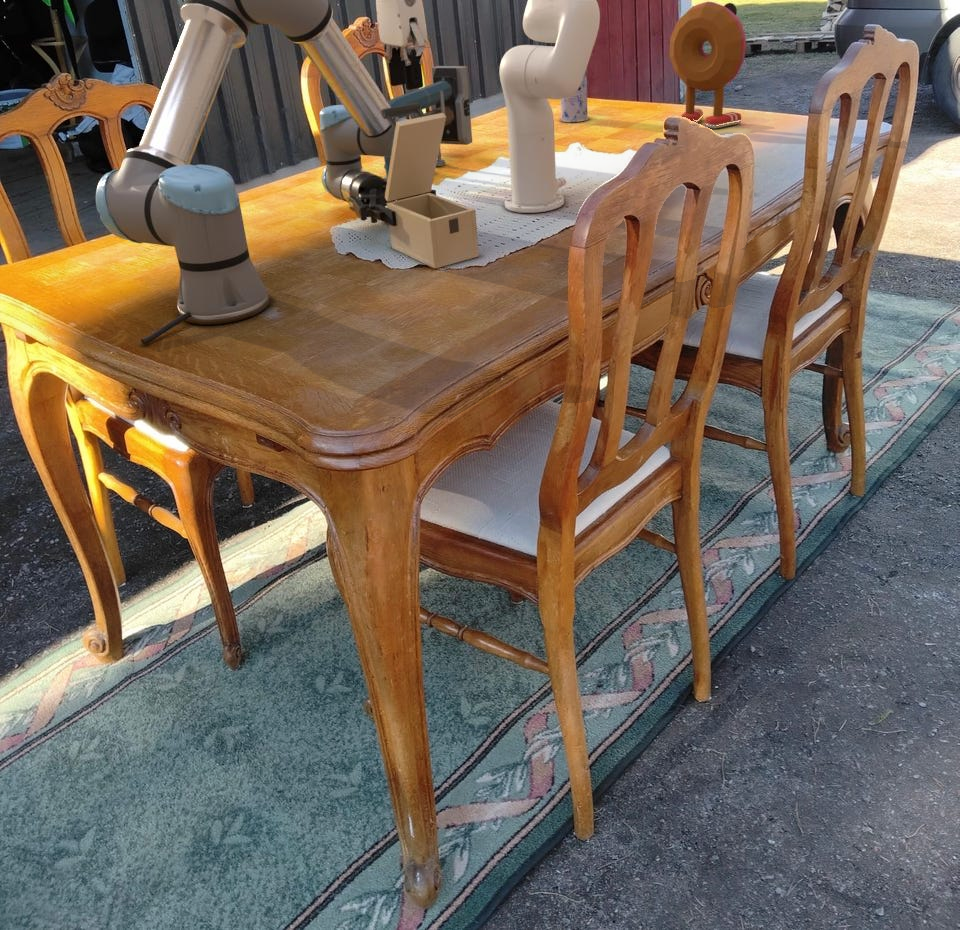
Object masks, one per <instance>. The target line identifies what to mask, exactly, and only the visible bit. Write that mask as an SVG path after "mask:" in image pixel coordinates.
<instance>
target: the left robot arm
mask: <svg viewBox="0 0 960 930" xmlns="http://www.w3.org/2000/svg"><path fill="white" fill-rule="evenodd" d="M177 1H178V4H179V6H180V12H179V13H180V17H181V19H182V21H183V23H184V27H183V30H182V32H181V35H180V37H179V40H178V43H177V45H176V48H175V50H174V53H173V55H172V59H171V61H170V64H169V66H168V70H167V72H166V74H165V77H164V80H163V82H162V85H161V86H160V87H161V88H160V90H159V93H158V95H157V98H156V101H155V103H154V105H153V109H152V110H151V114H150V116H149V119H148V122H147V125H146V127H145V129H144V132H143V135H142V137H141V140H140V142H139V145H138V146H135V147H133V148H129V149H128V150H127V151H126V152H125V154H124V157H123V160H122V162H121V165H120V168H119V169H113V170H111V171H109V172H106V173H105V174H104V175H102V177H101V178H100V180H99V181H98V184H97V187H96V191H95V206H96V211H97V212H98V213H99V216H100V217H99V218H100V220H101V223H102V224H103V226H104V227H105V228H106V229H107V231H109V232H110V233H111V234H112V235H114V236H115V237H117V238H120V239H121V240H125V241H129V242H132V243H134V244H135V243H136V244H151V245H158V246H159V245H160V246H167V247H174V250H175V254H176V258H177V262H178V266H179V283H178V294H177V310H178V314H179V316H178V317H175V318H174V319H172V320H171V321H170V322H167V323H166V324H165V325H163V326H162V327H160V328H159V329H157V330H156V331H154V332H152V333H151V334H149V335H147V336H146V337H143V338H141V339H140V343H141V344H142V345H143V346H145V345H146V344H149V343H150V342H153V341H154V340H156V339H157V338H159V337H160V336H162V335H164V334H165V333H166V332H168V331H170V330H171V329H173V328H174V327H176V326H178V325H179V324H181V323H183V322H186V323H189V324H193V325H202V326H203V325H204V326H205V325H206V326H210V325H222V324H230V323H233V322H239V321H241V320H245V319H248V318H251V317H253V316H256V315H258V314H260V312H263V311H264V310H265V309H266V308H267V307H268V306H269V305H270V296H269V291H268V289H267V287H266V284H265V283H264V282H263V280H262V278H261V276H260V274H259V271H258V270H257V269H256V267H255V265H254V264H253V262H252V260H251V257H250V251H249V246H248V241H247V240H248V239H247V236H246V229H245V224H244V219H243V214H242V208H241V203H240V195H239V193H238V191H237V188H236V184H235V181H234V178H233V177H232V175H231V174H230V173H229V172H228V171H226V170H225V169H223V168H221V167H219V166H214V165H209V164H201V163H200V164H196V165H195V164H191V162H192V160H193V157H194V155H195V152H196V150H197V146H198V144H199V141H200V138H201V136H202V133H203V131H204V128H205V125H206V122H207V120H208V117H209V114H210V111H211V109H212V106H213V103H214V101H215V98H216V96H217V93H218V90H219V87H220V85H221V83H222V82H221V81H222V80H223V76H224V73H225V71H226V69H227V66H228V63H229V61H230V58H231V55H232V53H233V50H235V49H239V48H242V47H243V46H244V45H245V43H246V41H247V38H248V36H249V33H250V31H251V28H252V26H256V25H258V26H259V25H269V26H273V27H275V28H277V29H279V30H280V31H281V32H282V33H283V34H284V35H285V37H286V38H287V39H288V41H290V42H291V43H293V44H298V45H299V47H300V48H301V49H302V51H303V52H304V53H305V55H306V56H307V57H308V59H309V61H310V62H311V63H312V64H313V66H314V67H315V69H316V70H317V71H318V73H319V74H320V76H321V77H322V78H323V80H324V81H325V82H326V83H327V85H328V87H329V88H330V90H331V91H332V92H333V93H334V95H335V96H336V97H337V99H338V101H339V102H340V103H341V104H336V105H329V106H324V107H323V108H322V109H321V110H320V111H319V123H320V134H321V140H322V146H323V152H324V157H325V167H324V169H323V170H322V173H321V183H322V186H323V188H324V190H325V191H326V192H327V193H328V194H329V195H331V196H332V197H333V198H335V199H337V200H341V201H343V202H346V203H348V205H349V210H350V211H353V212H354V213H355V215H356V216H357V217H358V218H359V219H360V221H362V222H363V221H364V222H365V221H367V220H368V218H370V222H371V224H376V223H378V221H381V222H383V223H386V224H387V225H389V224H390V225H392V226H397V222H396V214H395V211H393V210H391V209H389V208H387V203H390V202H394V201H398V200H402V199H406V198H411V197H415V196H419V195H423V194H427V193H431V194H434V195H437V189H432V188H431V191H430V192H426V193H422V194H417V195H413V196H409V197H405V198H401V199H396V200H392V201H387V200H386V199H385V192H386V186H387V182H386V181H385V180H384V179H383V178H384V177H382V176H379V175H377V174H375V173H373V172H369V171H366V170H363V165H362V156H367V157H368V156H369V157H370V156H371V157H383V158H384V157H391V154H392V147H393V141H394V134H395V130H394V128H393V127H392V126H391V124H390V123H389V121H388V120H387V119H384V118H383V117H382V114H381V111H382V109H386V108H391V107H390V105H389V103H388V100H387V99H386V97H385V95H384V94H383V93H382V92H381V90H380V87H379V86H378V85H377V83H376V82H375V80H374V79H373V78H372V76H371V74H370V73H369V71H368V69H367V68H366V67H365V65H364V64H363V63H362V61H361V59H360V58H359V57H358V55H357V53H356V52H355V50H354V49H353V47H352V45H351V44H350V42H349V41H348V40H347V38H346V37H345V35H344V34H343V32H342V30H341V28H340V27H339V26H338V24H337V23H336V21H335V20H334V18H333V16H334V9H333V7H332V5H331V3H330V2H329V0H177ZM392 118H393V120H394V121H395V122H399V121H404V120H409V119H410V118H409V119H406V117H402V118H400V119H399V118H398V117H392Z"/></svg>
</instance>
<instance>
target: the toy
mask: <svg viewBox="0 0 960 930" xmlns="http://www.w3.org/2000/svg"><path fill="white" fill-rule="evenodd" d="M737 12H738V10H737V6H736V5H735V4H734V3H732V2H728V3H726V4H724V5H723V4H719V3H717V2H714V1H705V2H702V3H701V2H700V3H698V4H695V5H693V6H692V7H691V8H689V9H688V10H687V11H686V12H685V13H684V14H683V15H682V16H681V17H679V19H678V20H677V21H676V23H675V26H674V29H673V30H672V32H671V36H670V38H669V59H670V62H671V65H672V68H673V70H674V74H675V75H676V76H677V77H678V78H679V79H680V80H681V81H682V82H683V83H684V85H685V111H684V112H683V113H682V114H681V115H680V116H682V117H686V118H688V119H690V120H691V121H694V120H698V119H699V118H700V117H701V116H702V115H703V117H702V118H701V119H700V120H699V121H697V122H696V121H694V122H696V123H697V124H698V123H699V122H700V121H701V120H702V119H703V118H704V112H703V110H702V109H700V108H695V106H696V90H698V91H699V92H700V91H701V92H712V91H714V92H713V97H714V99H713V109H712V110H713V111H712V112H713V113H712V115H709V116H706V117H705V119H704V127H706V128H709V129H721V128H725V127H730V126H734V125H735V126H736V125H738V124H741V123H742V114H741V113H739V112H735V111H730V112H725V113H723V109H724V94H725V86H726V85H728V84H730V82H732V81H733V80H735V78H736V77H737V76H738V74H739V72H740V70H741V68H742V66H743V63H744V62H745V58H746V49H747V39H746V34H745V31H744V27H743V24H742V22H741V20H740V19H739V17H738V16H737V14H738V13H737ZM706 42H708V43H709V44H710V47H711V48H710V49H711V50H710V52H709V53H706V52H705V51H704V44H705V43H706ZM693 119H694V120H693ZM738 120H741V121H739V122H734V123H729V124H724V125H719V124H723V123H727V122H733V121H738ZM705 123H706V124H708V125H706V124H705ZM710 125H711V126H710ZM713 125H714V126H713ZM716 125H719V126H716Z"/></svg>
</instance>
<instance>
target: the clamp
mask: <svg viewBox="0 0 960 930" xmlns="http://www.w3.org/2000/svg"><path fill="white" fill-rule="evenodd" d="M431 76H432V83H431V84H428V85H425V86H423V87H422V88H417V89H414V90H412V91H410V92H407V93H405V94H401V95H398V96H396V97H394V98H391V99H389V100H387V102H388V103H389V105H390V107H396V106H401V105H407V104H412V103H419V104H420V108H421V111H422V112H423V110H425V112H423V113H424V115H425V116H429V115H434V114H439V113H444V115H445V116H446V120H445V125H444V130H443V135H442V140H441V144H440V145H463V146H468V145H470V144H472V143H473V132H472V131H473V130H472V119H471V107H470V105H471V104H470V93H469V91H470V90H469V79H468V67H467V65H436V66H433V67H431ZM430 108H431V109H430ZM410 116H411V114H408V115H402V116H397V117H398V118H399V119H401V118H405V119H410ZM419 117H420V116H419V115H417V116H415V117H413V118H412V117H411V119H414V118H419ZM441 152H442V151H441V148H440V149H439V154H438V159H437V164H436V167H442V166H444V165H446V163H447V162H446V160H444V159H442V153H441ZM383 160H384V166H383V168H384V170H385V177H382V178H383V179H384V180H385V181H386V182H387V179H388V173H389V166H390V160H391V157H383Z"/></svg>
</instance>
